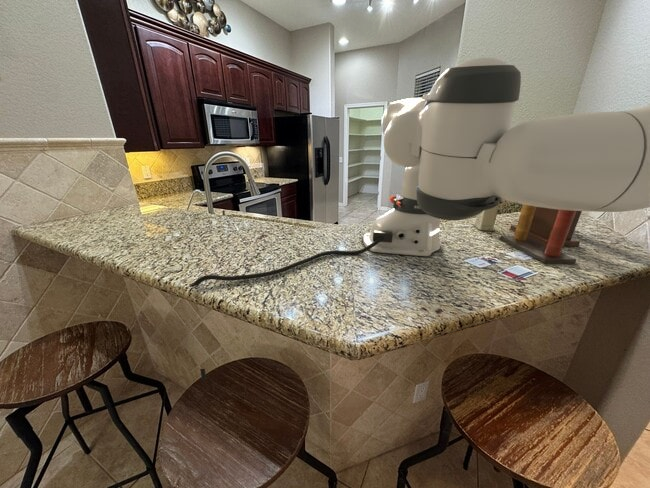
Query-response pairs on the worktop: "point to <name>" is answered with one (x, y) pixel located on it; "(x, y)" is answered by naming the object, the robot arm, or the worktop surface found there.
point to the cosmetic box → (487, 219)
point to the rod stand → (535, 248)
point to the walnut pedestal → (549, 226)
